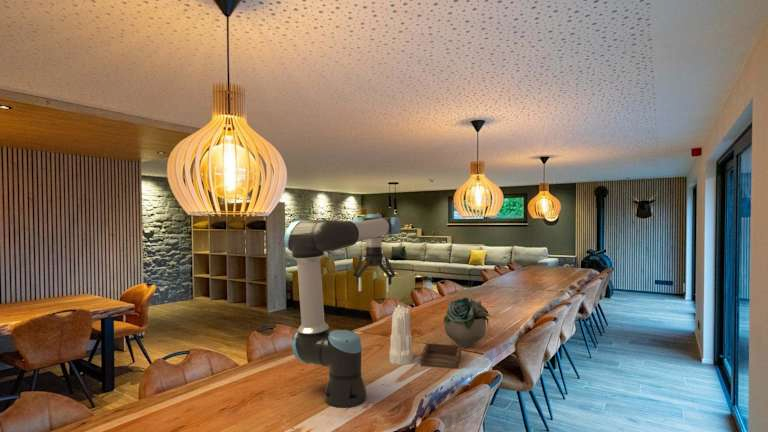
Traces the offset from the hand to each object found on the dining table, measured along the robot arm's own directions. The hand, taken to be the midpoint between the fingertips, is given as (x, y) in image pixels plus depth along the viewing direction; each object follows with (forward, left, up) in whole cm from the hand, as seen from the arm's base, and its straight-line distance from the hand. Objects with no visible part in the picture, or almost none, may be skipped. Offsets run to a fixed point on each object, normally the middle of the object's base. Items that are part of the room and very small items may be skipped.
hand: (374, 291), depth 193 cm
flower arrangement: (+28, -40, -31) cm, 58 cm away
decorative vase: (-3, -13, -31) cm, 34 cm away
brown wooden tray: (+1, -31, -31) cm, 44 cm away
